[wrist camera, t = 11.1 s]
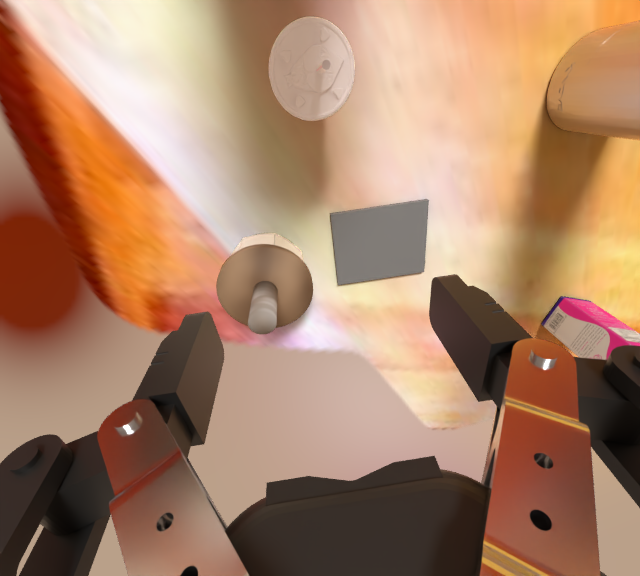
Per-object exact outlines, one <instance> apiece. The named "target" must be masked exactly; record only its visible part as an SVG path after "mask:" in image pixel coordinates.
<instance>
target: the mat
mask: <svg viewBox="0 0 640 576" xmlns="http://www.w3.org/2000/svg"><path fill="white" fill-rule="evenodd" d="M428 203H429V200H427V199H424V200H417V201H410V202H404V203H397V204H390V205H384V206H377V207H370V208H364V209H357V210H350V211H343V212H337V213H330V216H331V226H332V235H333V244H334V254H335V263H336V272H337V282H338V285H342V284H349V283H355V282H362V281H368V280H375V279H381V278H388V277H395V276H401V275H408V274H414V273H421V272H424V266H425V250H426V235H427V219H428Z"/></svg>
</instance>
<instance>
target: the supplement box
mask: <svg viewBox="0 0 640 576" xmlns="http://www.w3.org/2000/svg"><path fill="white" fill-rule="evenodd" d="M541 325H542V326H544V327H545V328H546V329H547V330H548V331H549V332H550V333H552V334H553V335H554V336H555V337H556V338H557V339H558V340H560V341H561V342H562V343H563V344H564V345H565V346H567V347H568V348H569V349H570V350H571V351H572V352H574V353H575V354H576V355H577V356H578V357H579V358H591V359H603V360H607V359H608V357H609V355H610V353H611V352H612V350H613V349H614V348H616V347H619V346H623V345H635V346H640V334H639V333H638V332H636V331H635V330H633V329H632V328H630V327H629V326H627V325H626V324H624V323H623V322H621V321H619V320H618V319H616V318H615V317H614V316H612V315H611V314H609V313H607V312H606V311H604V310H603V309H601V308H600V307H598V306H597V305H595V304H594V303H592V302H591V301H587V300H581V299H575V298H569V297H563V296H561V297H560V298H559V300H558V301H557V303H556V304H555V306H554V307H553V308H552V310H551V311H550V312H549V314H548V315H547V317H546V318H545V319H544V321H543V322H542V323H541Z"/></svg>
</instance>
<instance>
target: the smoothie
mask: <svg viewBox="0 0 640 576" xmlns="http://www.w3.org/2000/svg"><path fill="white" fill-rule="evenodd" d="M354 77H355V62H354V56H353V52H352V49H351V46H350V44H349V42H348V40H347V38H346V37H345V35H344V34H343V32H342V31H341V30H340V29H339V28H338V27H337V26H336V25H334V24H333V23H332V22H330V21H328V20H326V19H323V18H320V17H315V16H308V17H302V18H299V19H297V20H294V21H293V22H291V23H290V24H288V25H287V26H286V27H285V28H284V29H283V30H282V31H281V32H280V34H279V35H278V37H277V38H276V40H275V42H274V45H273V47H272V50H271V54H270V58H269V78H270V83H271V87H272V90H273V92H274V94H275V96H276V99H277V100H278V102H279V103H280V104H281V105H282V107H283V108H284V109H285V110H286V111H288V112H289V113H290V114H291V115H293V116H294V117H297V118H299V119H302V120H308V121H317V120H322V119H325V118H328V117H330V116H331V115H333V114H334V113H336V112H337V111H338V110H339V109H340V108H341V107H342V106H343V105H344V103H345V102H346V100H347V99H348V97H349V95H350V92H351V90H352V87H353V83H354Z"/></svg>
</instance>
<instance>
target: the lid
mask: <svg viewBox="0 0 640 576" xmlns="http://www.w3.org/2000/svg"><path fill="white" fill-rule="evenodd" d="M216 288H217V295H218V299H219V301H220V303H221V305H222V307H223V308H224V309H225V311H226V312H227V313H228V314H229V315H230V316H231V317H233V318H234V319H235V320H237V321H239V322H240V323H243V324H245V325H247V326H249V328H250V329H251V330H252V331H253V332H255V333H257V334H268V333H270V332H272V331H273V330H274V329H275V328H278V327H282V326H285V325H288V324H290V323H292V322H293V321H295V320H297V319H298V318H299V317H300V316H301V315H302V314H303V313H304V312H305V311H306V310H307V308H308V306H309V305H310V302H311V300H312V295H313V283H312V278H311V274H310V272H309V269H308V268H307V266H306V264H305V263H304V262H303V260H302V259H300V258H299V257H298V256H297V255H296V254H294V253H293V252H291V251H290V250H288V249H285V248H283V247H280V246H276V245H271V244H256V245H251V246H247V247H245V248H242V249H240V250H238V251H236V252H235V253H234V254H232V255H231V256H230V257H229V258H228V259H227V260H226V261H225V263H224V264H223V266H222V268H221V270H220V273H219V275H218V279H217V287H216Z"/></svg>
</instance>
